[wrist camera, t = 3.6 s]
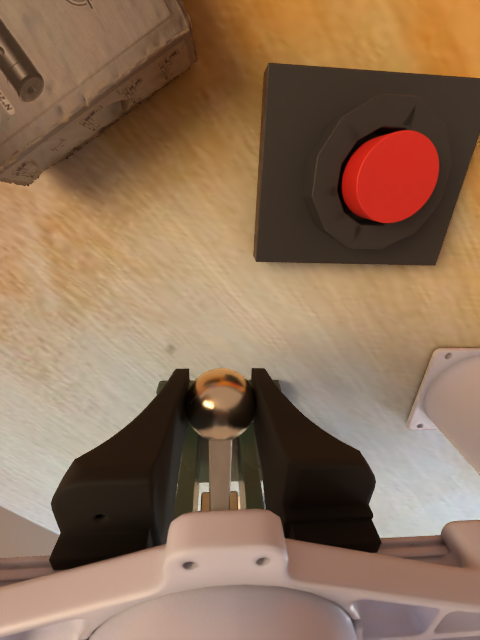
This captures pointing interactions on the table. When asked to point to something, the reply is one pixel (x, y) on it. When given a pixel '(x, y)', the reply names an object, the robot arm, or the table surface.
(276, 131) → the button box
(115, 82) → the box
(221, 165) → the table surface
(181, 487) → the bracket
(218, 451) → the lever
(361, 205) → the button
